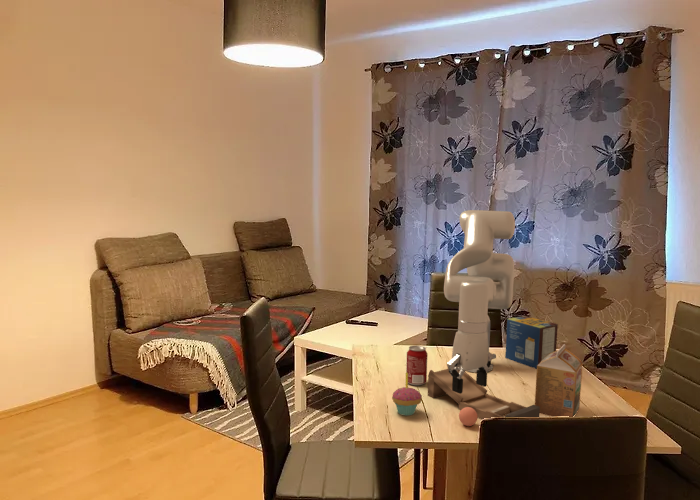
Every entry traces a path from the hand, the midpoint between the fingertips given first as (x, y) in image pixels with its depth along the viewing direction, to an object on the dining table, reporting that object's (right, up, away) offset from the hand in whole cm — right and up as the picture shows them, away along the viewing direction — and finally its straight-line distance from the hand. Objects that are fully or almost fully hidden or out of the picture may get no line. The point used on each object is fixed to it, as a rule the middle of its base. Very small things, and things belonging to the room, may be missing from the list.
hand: (469, 388), depth 154 cm
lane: (+6, -9, +14) cm, 17 cm away
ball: (0, -11, +2) cm, 11 cm away
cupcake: (-16, -9, +10) cm, 21 cm away
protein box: (+35, -5, +59) cm, 69 cm away
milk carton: (+29, -10, +13) cm, 33 cm away
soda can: (-11, -7, +34) cm, 36 cm away
